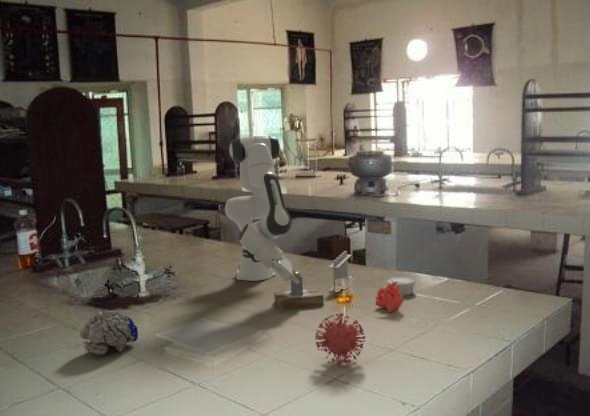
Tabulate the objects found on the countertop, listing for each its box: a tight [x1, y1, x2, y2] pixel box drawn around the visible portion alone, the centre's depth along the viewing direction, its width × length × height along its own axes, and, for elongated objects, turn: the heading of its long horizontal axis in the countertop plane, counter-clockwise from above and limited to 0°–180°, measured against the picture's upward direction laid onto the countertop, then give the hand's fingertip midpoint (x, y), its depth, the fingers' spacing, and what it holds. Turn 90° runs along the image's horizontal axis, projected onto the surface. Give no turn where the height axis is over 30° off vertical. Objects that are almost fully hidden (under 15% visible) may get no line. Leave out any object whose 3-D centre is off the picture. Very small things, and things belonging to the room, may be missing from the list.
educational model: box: [79, 309, 139, 356], centre depth 208 cm, size 14×20×15 cm
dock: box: [273, 287, 325, 311], centre depth 251 cm, size 12×17×4 cm
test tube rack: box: [328, 250, 353, 293], centre depth 276 cm, size 25×4×13 cm, turn 162°
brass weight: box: [293, 271, 300, 277], centre depth 250 cm, size 3×3×2 cm
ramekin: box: [386, 276, 415, 297], centre depth 260 cm, size 11×11×5 cm
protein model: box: [375, 282, 405, 314], centre depth 238 cm, size 9×12×12 cm
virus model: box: [314, 313, 366, 365], centre depth 188 cm, size 15×15×15 cm
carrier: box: [290, 272, 304, 296], centre depth 250 cm, size 6×4×8 cm
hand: (298, 279), depth 250 cm, fingers open, 7 cm apart
